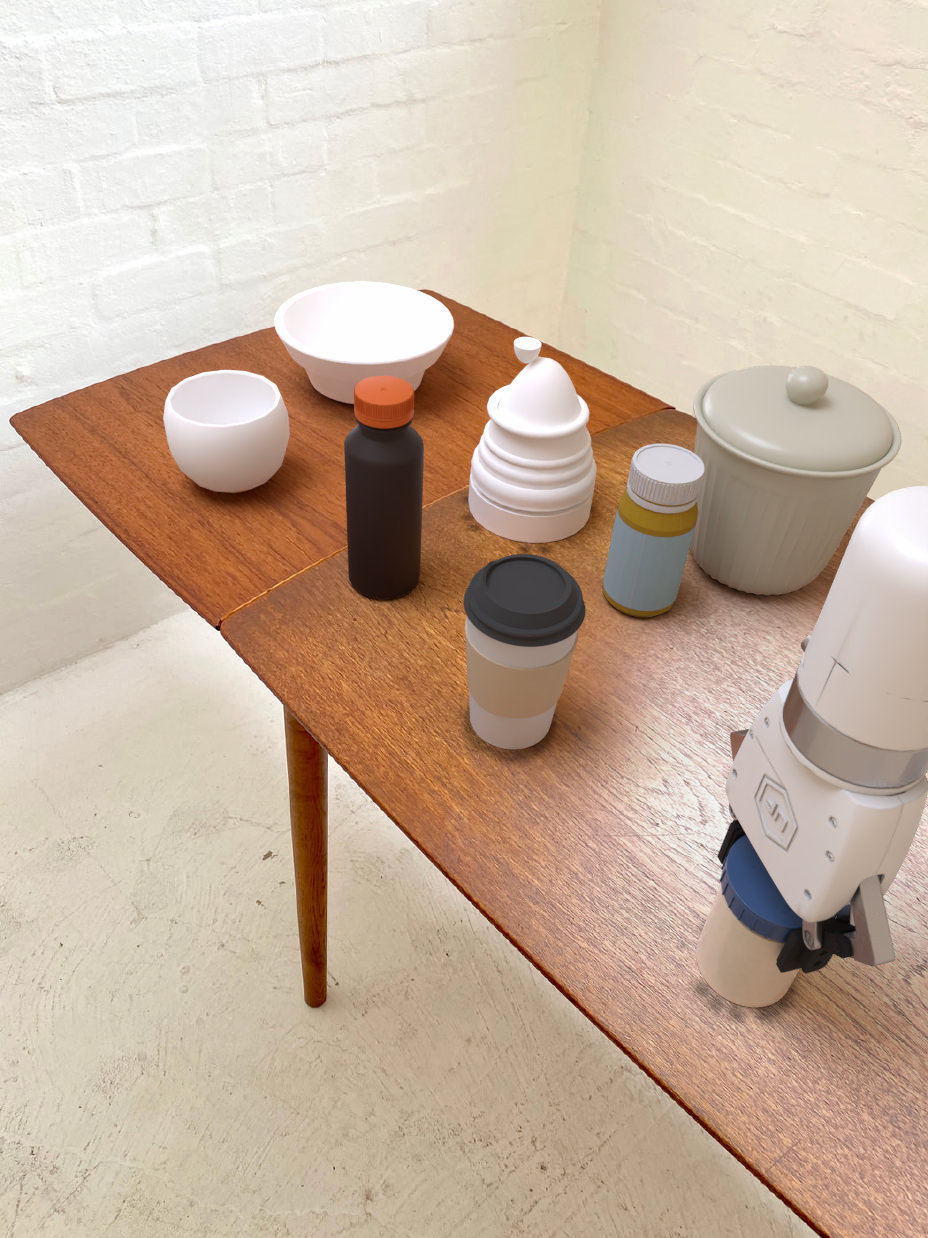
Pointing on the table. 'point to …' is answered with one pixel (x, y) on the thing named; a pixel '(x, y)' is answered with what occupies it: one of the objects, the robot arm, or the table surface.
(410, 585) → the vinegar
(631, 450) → the table surface
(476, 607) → the coffee cup
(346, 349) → the bowl
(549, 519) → the honey pot
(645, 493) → the bottle
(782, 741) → the robot arm
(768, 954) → the jar
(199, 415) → the cup
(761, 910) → the lid
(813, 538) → the canister
